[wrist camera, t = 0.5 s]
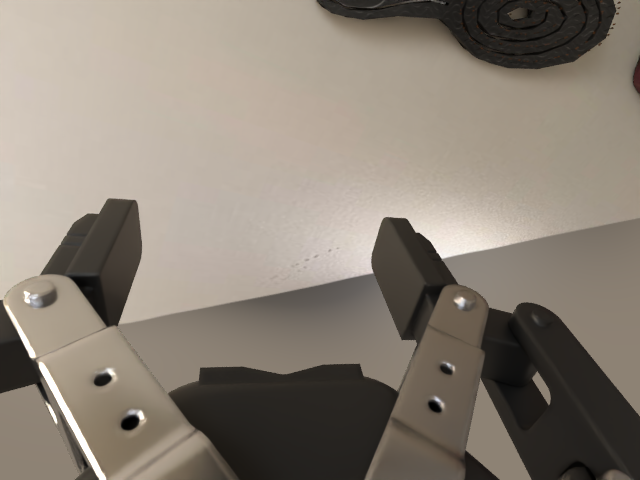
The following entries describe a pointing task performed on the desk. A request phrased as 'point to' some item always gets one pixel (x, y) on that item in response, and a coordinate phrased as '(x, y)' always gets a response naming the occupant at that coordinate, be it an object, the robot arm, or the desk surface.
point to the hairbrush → (491, 7)
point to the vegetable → (637, 77)
